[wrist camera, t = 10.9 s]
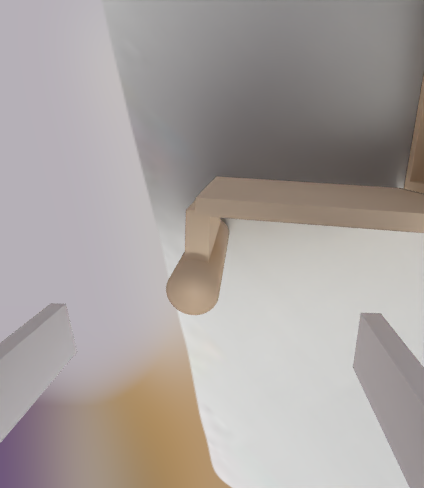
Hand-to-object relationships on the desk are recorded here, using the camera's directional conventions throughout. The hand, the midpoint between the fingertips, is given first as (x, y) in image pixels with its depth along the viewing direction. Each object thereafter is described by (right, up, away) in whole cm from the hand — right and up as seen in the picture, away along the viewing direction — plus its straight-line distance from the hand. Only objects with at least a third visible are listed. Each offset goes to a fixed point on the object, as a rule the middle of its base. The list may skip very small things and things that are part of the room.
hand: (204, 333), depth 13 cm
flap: (+7, +6, +9) cm, 13 cm away
